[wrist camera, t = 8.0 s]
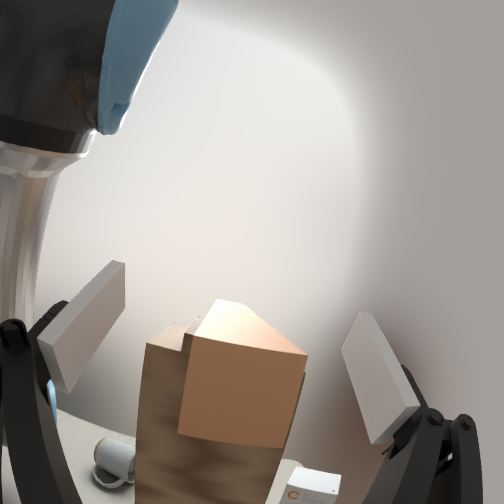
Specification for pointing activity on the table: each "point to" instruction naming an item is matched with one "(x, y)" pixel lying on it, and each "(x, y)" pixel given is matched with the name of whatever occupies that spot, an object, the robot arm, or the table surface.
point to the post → (190, 439)
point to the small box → (311, 487)
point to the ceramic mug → (115, 461)
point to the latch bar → (240, 380)
